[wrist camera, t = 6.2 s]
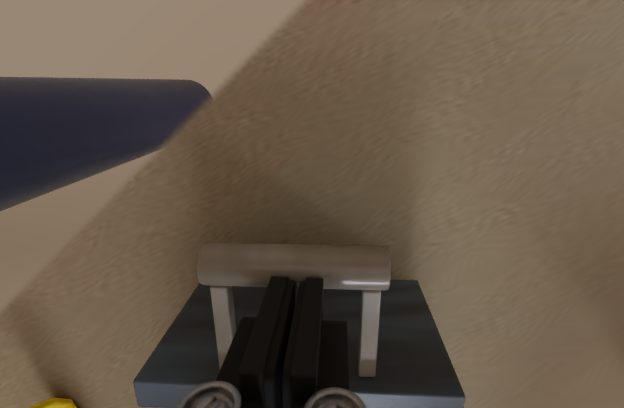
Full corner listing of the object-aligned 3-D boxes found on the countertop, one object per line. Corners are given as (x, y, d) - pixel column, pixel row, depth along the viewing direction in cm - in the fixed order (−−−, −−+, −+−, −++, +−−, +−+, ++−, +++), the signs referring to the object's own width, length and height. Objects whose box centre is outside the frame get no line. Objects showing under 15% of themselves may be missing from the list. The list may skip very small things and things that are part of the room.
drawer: (194, 187, 18) (103, 255, 11) (427, 190, 17) (489, 264, 10) (224, 440, 23) (178, 591, 16) (399, 450, 23) (428, 612, 16)
